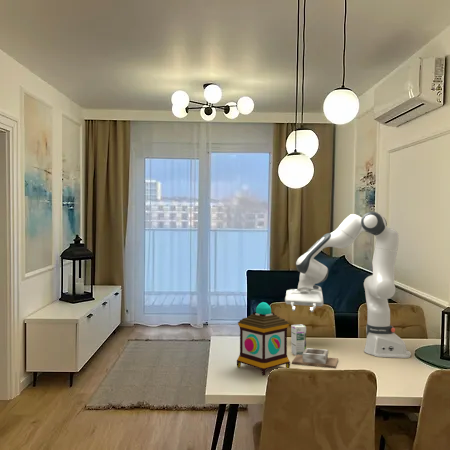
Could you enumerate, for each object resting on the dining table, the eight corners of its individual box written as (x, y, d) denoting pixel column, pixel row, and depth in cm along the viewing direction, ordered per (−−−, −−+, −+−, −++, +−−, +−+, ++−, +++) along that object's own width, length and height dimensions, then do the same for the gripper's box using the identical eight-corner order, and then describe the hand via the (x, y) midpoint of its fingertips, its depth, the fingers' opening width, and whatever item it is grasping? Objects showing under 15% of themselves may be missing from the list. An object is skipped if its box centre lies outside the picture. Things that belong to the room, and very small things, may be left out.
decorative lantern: (262, 359, 231) (263, 297, 231) (294, 369, 216) (294, 302, 216) (232, 367, 218) (232, 301, 218) (263, 378, 203) (264, 307, 203)
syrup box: (295, 356, 238) (295, 326, 238) (291, 352, 243) (291, 324, 243) (306, 355, 239) (306, 326, 239) (301, 352, 245) (301, 323, 245)
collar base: (338, 360, 230) (338, 350, 230) (335, 368, 218) (335, 357, 218) (296, 356, 236) (296, 346, 236) (291, 363, 224) (291, 353, 224)
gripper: (286, 285, 262) (282, 306, 253) (323, 287, 256) (321, 308, 246) (287, 292, 266) (283, 313, 257) (324, 294, 260) (322, 315, 251)
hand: (302, 310), depth 252 cm, fingers open, 8 cm apart
